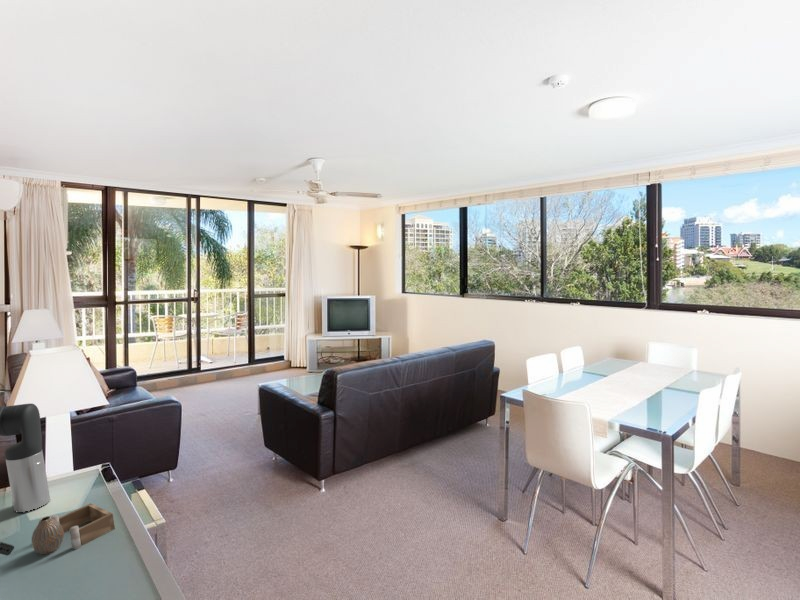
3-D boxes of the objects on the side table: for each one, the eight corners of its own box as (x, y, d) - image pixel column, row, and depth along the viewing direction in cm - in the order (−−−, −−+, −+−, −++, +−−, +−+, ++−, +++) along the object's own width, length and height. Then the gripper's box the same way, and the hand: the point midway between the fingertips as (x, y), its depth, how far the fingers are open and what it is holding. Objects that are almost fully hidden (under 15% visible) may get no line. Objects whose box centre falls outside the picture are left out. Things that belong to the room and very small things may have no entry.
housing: (51, 536, 132) (48, 517, 131) (91, 517, 141) (89, 499, 140) (74, 550, 124) (71, 530, 124) (115, 529, 133) (113, 510, 132)
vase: (48, 558, 121) (43, 526, 121) (27, 557, 123) (21, 525, 122) (72, 542, 128) (67, 512, 127) (51, 540, 130) (46, 511, 129)
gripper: (-41, 520, 105) (32, 541, 117) (-59, 507, 112) (11, 528, 124) (-69, 556, 101) (9, 574, 113) (-86, 540, 109) (-11, 558, 120)
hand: (10, 550), depth 118 cm, fingers closed
